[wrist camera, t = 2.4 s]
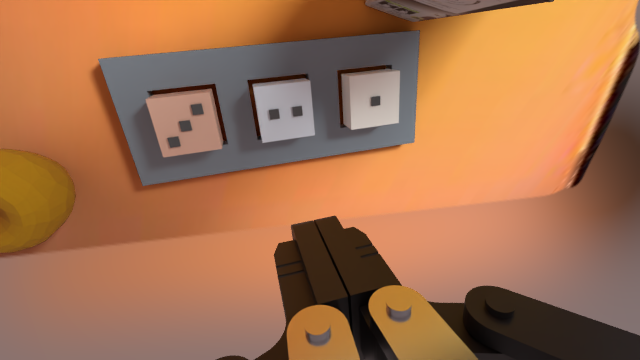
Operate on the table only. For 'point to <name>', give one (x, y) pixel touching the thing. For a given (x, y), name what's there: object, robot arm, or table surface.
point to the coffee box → (442, 7)
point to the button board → (234, 98)
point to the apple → (31, 199)
